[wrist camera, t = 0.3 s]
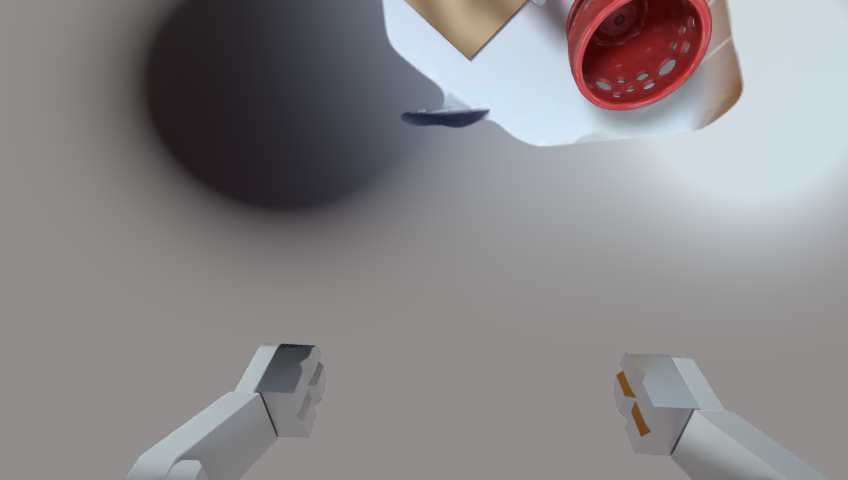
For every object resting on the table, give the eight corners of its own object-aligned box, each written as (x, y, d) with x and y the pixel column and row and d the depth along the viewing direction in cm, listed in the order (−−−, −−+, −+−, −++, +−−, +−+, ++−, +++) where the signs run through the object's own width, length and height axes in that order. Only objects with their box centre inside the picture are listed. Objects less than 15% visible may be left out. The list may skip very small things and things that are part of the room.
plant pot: (689, 18, 50) (729, 66, 42) (585, 81, 57) (603, 132, 49) (653, -85, 42) (693, -50, 35) (538, 1, 49) (551, 47, 42)
